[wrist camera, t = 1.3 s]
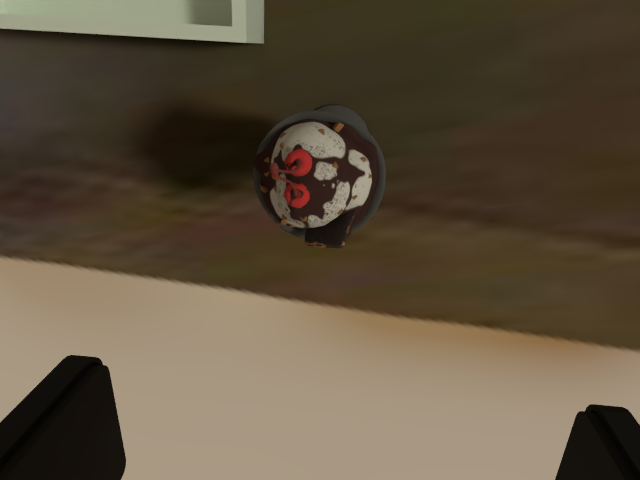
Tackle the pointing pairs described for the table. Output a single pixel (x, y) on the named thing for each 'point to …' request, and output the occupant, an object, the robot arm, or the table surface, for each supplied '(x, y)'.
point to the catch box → (141, 18)
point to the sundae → (320, 175)
